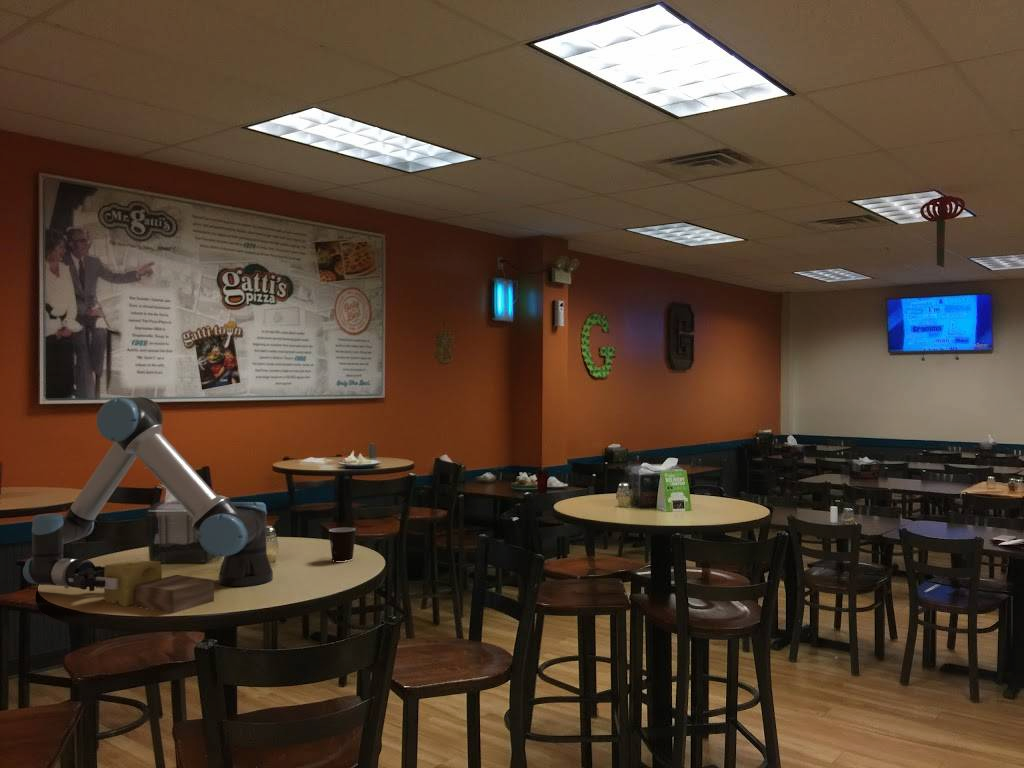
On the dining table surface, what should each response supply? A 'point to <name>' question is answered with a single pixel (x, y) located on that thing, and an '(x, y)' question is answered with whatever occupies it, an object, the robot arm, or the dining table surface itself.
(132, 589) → the cheese
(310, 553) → the dining table surface
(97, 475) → the robot arm
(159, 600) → the walnut block
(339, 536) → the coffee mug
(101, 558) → the dining table surface
